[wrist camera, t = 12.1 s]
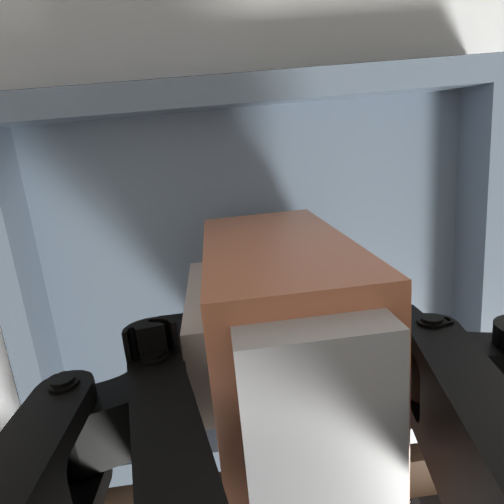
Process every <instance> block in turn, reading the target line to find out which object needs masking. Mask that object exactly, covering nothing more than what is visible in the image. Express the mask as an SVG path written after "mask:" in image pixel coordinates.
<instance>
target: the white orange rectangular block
mask: <svg viewBox="0 0 504 504" xmlns="http://www.w3.org/2000/svg"><path fill="white" fill-rule="evenodd" d="M411 301H412V280H411V279H410V278H408V277H407V276H405V275H404V274H402V273H401V272H399V271H398V270H396V269H395V268H393V267H392V266H390V265H389V264H387V263H386V262H384V261H383V260H381V259H380V258H378V257H377V256H375V255H374V254H372V253H371V252H369V251H368V250H366V249H365V248H363V247H362V246H361V245H359V244H358V243H356V242H355V241H353V240H352V239H350V238H349V237H347V236H346V235H344V234H343V233H341V232H340V231H338V230H337V229H335V228H334V227H332V226H331V225H329V224H328V223H326V222H325V221H323V220H322V219H320V218H319V217H317V216H316V215H314V214H313V213H311V212H310V211H308V210H307V209H304V210H294V211H284V212H274V213H265V214H255V215H245V216H235V217H226V218H216V219H206V220H204V238H203V258H202V278H201V298H200V307H201V315H202V323H203V331H204V339H205V347H206V355H207V363H208V371H209V379H210V387H211V395H212V403H213V411H214V419H215V427H216V435H217V443H218V451H219V459H220V467H221V475H222V483H223V487H224V490H225V493H226V496H227V500H228V503H229V504H410V415H411Z"/></svg>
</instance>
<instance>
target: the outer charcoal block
mask: <svg viewBox="0 0 504 504" xmlns="http://www.w3.org/2000/svg"><path fill="white" fill-rule="evenodd" d="M411 504H441V501H440V499H439V496H438V494H436V495H430V496H424V497H417V498H411Z"/></svg>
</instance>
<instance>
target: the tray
mask: <svg viewBox="0 0 504 504" xmlns="http://www.w3.org/2000/svg"><path fill="white" fill-rule="evenodd" d="M304 209H307V210H308V211H310V212H311V213H313V214H314V215H316V216H317V217H319V218H320V219H322V220H323V221H325V222H326V223H328V224H329V225H331V226H332V227H334V228H335V229H337V230H338V231H340V232H341V233H343V234H344V235H346V236H347V237H349V238H350V239H352V240H353V241H355V242H356V243H358V244H359V245H361V246H362V247H363V248H365V249H366V250H368V251H369V252H371V253H372V254H374V255H375V256H377V257H378V258H380V259H381V260H383V261H384V262H386V263H387V264H389V265H390V266H392V267H393V268H395V269H396V270H398V271H399V272H401V273H402V274H404V275H405V276H407V277H408V278H410V279H411V280H412V301H411V305H414V306H415V307H417V308H418V309H419V310H420V311H422V312H423V313H436V314H441V315H446V316H449V317H451V318H453V319H455V320H456V321H458V322H459V323H460V324H461V326H462V327H463V328H464V329H465V330H466V331H467V332H492V328H493V319H494V318H496V317H497V316H501V315H504V52H495V53H482V54H469V55H456V56H443V57H430V58H418V59H405V60H392V61H379V62H366V63H353V64H340V65H327V66H314V67H302V68H289V69H276V70H263V71H250V72H237V73H224V74H211V75H198V76H185V77H173V78H160V79H147V80H134V81H121V82H108V83H95V84H82V85H69V86H57V87H44V88H31V89H18V90H5V91H0V326H1V330H2V333H3V337H4V341H5V345H6V349H7V353H8V357H9V361H10V365H11V369H12V373H13V377H14V380H15V384H16V388H17V392H18V396H19V400H20V404H21V405H22V404H23V402H24V401H25V400H26V398H27V397H28V396H29V394H30V393H31V392H32V391H33V389H34V388H35V387H36V386H37V385H38V384H39V383H41V382H42V381H44V380H45V379H47V378H49V377H50V376H52V375H54V374H56V373H58V374H59V372H62V371H71V370H85V371H89V372H91V373H92V374H93V376H94V379H95V384H96V383H99V382H103V381H106V380H110V379H112V378H115V377H118V376H120V375H122V374H124V373H126V372H127V363H126V357H125V351H124V346H123V340H122V335H121V333H122V330H123V329H124V328H125V327H126V326H127V325H129V324H131V323H133V322H135V321H138V320H141V319H145V318H151V317H158V316H163V315H171V314H179V313H183V311H184V304H185V297H186V290H187V284H188V277H189V270H190V263H197V262H202V258H203V238H204V220H206V219H216V218H226V217H235V216H245V215H255V214H265V213H274V212H284V211H294V210H304ZM205 431H206V434H207V437H208V440H209V443H210V446H211V449H212V453H213V456H214V459H215V462H216V465H217V468H218V471H219V472H221V467H220V459H219V451H218V443H217V435H216V429H211V430H205ZM413 443H417V440H416V437H415V435H414V432H413V430H412V429H411V430H410V444H413ZM112 469H113V472H112V479H111V482H110V485H109V488H111V487H117V486H124V485H131V484H133V481H132V461H131V462H128V463H126V464H123V465H120V466H118V467H115V468H112Z"/></svg>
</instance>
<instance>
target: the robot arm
mask: <svg viewBox="0 0 504 504" xmlns="http://www.w3.org/2000/svg"><path fill="white" fill-rule="evenodd" d="M201 278H202V262H197V263H190V270H189V277H188V284H187V290H186V297H185V304H184V311H183V313H179V314H171V315H163V316H158V317H151V318H145V319H141V320H138V321H135V322H133V323H131V324H129V325H127V326H126V327H125V328H124V329H123V330H122V333H121V335H122V340H123V346H124V351H125V357H126V363H127V372H126V373H124V374H122V375H120V376H118V377H115V378H112V379H110V380H106V381H103V382H99V383H96V384H95V379H94V376H93V374H92V373H91V372H89V371H85V370H71V371H62V372H59V374H58V373H56V374H54V375H52V376H50V377H49V378H47V379H45V380H44V381H42V382H41V383H39V384H38V385H37V386H36V387H35V388H34V389H33V391H32V392H31V393H30V394H29V396H28V397H27V398H26V400H25V401H24V402H23V404H22V405H21V406H20V407H19V409H18V410H17V411H16V413H15V414H14V415H13V416H12V418H11V419H10V420H9V422H8V423H7V424H6V425H5V427H4V428H3V429H2V431H1V432H0V504H103V503H104V500H105V497H106V494H107V491H108V488H109V485H110V482H111V479H112V472H113V469H112V468H115V467H118V466H120V465H123V464H126V463H128V462H131V461H132V481H133V502H134V504H229V503H228V500H227V496H226V493H225V490H224V487H223V484H222V481H221V478H220V474H219V471H218V468H217V465H216V462H215V459H214V456H213V453H212V449H211V446H210V443H209V440H208V437H207V434H206V431H205V430H211V429H216V427H215V419H214V411H213V403H212V395H211V387H210V379H209V371H208V363H207V355H206V347H205V339H204V331H203V323H202V315H201V307H200V298H201ZM411 429H412V430H413V432H414V435H415V437H416V440H417V443H418V445H419V448H420V450H421V453H422V455H423V458H424V460H425V463H426V466H427V468H428V471H429V473H430V476H431V478H432V481H433V484H434V486H435V489H436V491H437V494H438V496H439V499H440V501H441V504H504V315H501V316H497V317H496V318H494V319H493V328H492V332H467V331H466V330H465V329H464V328H463V327H462V326H461V324H460V323H459V322H458V321H456V320H455V319H453V318H451V317H449V316H446V315H441V314H436V313H423V312H422V311H420V310H419V309H418V308H417V307H415V306H414V305H411V415H410V430H411Z"/></svg>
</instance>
